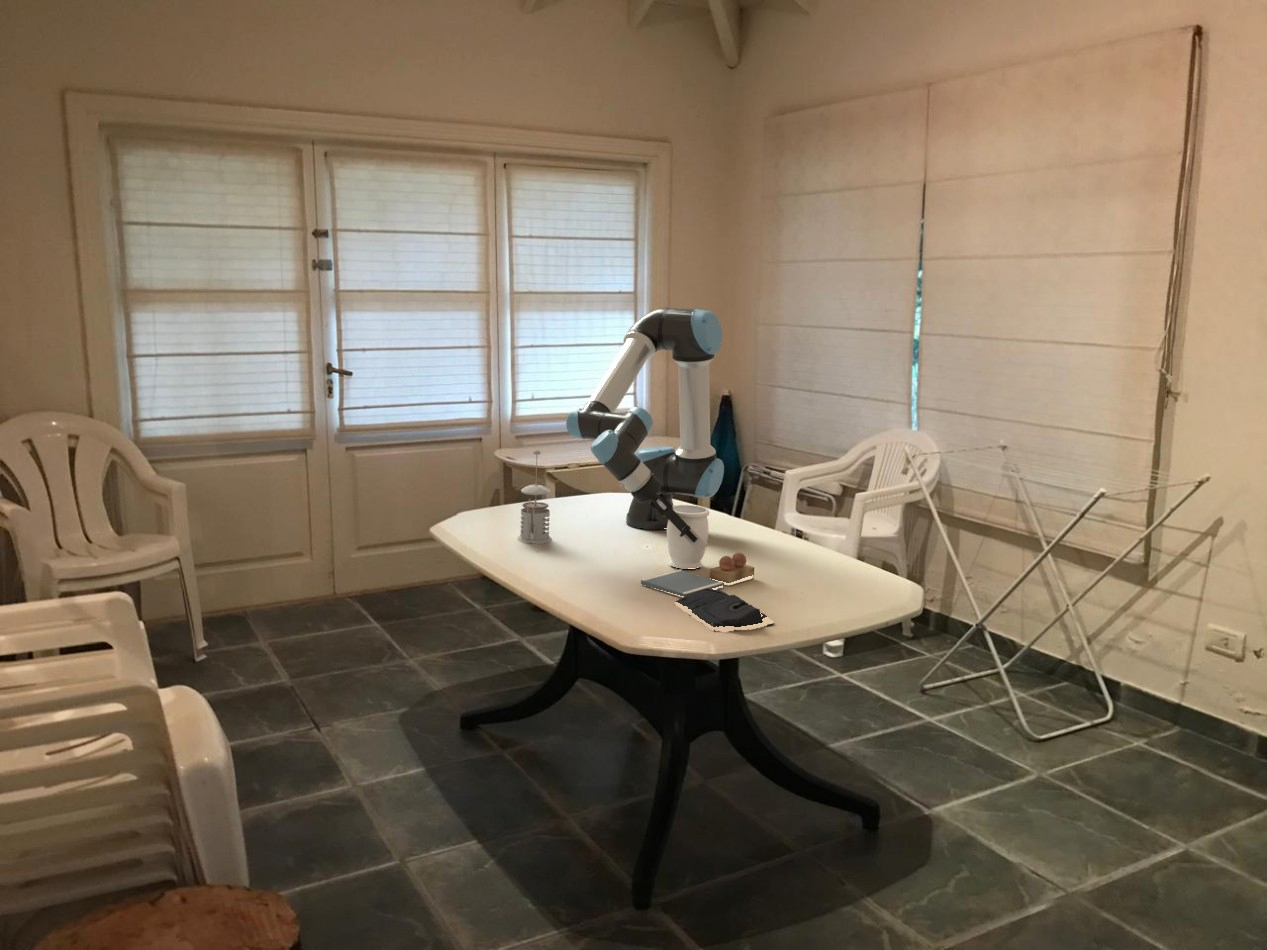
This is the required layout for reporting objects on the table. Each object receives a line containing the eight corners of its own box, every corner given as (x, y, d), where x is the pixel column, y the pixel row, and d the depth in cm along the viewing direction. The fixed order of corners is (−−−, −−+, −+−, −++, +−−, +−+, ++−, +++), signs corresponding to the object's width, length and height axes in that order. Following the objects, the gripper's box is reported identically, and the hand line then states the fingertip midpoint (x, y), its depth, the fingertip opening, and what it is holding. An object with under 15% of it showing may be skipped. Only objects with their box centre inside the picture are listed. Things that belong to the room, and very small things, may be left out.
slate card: (679, 574, 253) (679, 569, 253) (723, 587, 243) (723, 582, 243) (640, 584, 243) (641, 579, 243) (685, 599, 233) (685, 593, 233)
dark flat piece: (726, 598, 237) (728, 578, 236) (779, 629, 218) (780, 607, 217) (668, 604, 231) (669, 584, 230) (716, 637, 211) (718, 615, 210)
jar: (658, 567, 258) (661, 509, 256) (675, 558, 267) (678, 502, 265) (696, 574, 254) (699, 515, 251) (712, 565, 263) (716, 508, 260)
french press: (555, 536, 285) (557, 447, 280) (547, 546, 273) (550, 455, 269) (520, 533, 286) (522, 445, 281) (511, 544, 274) (513, 452, 269)
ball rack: (734, 573, 256) (736, 548, 255) (753, 578, 252) (755, 553, 251) (709, 580, 249) (710, 555, 248) (728, 586, 245) (730, 560, 244)
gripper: (622, 483, 265) (677, 541, 271) (638, 503, 243) (698, 565, 249) (643, 463, 265) (698, 522, 271) (660, 481, 243) (720, 544, 249)
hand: (698, 543), depth 260 cm, fingers closed on jar, 10 cm apart
